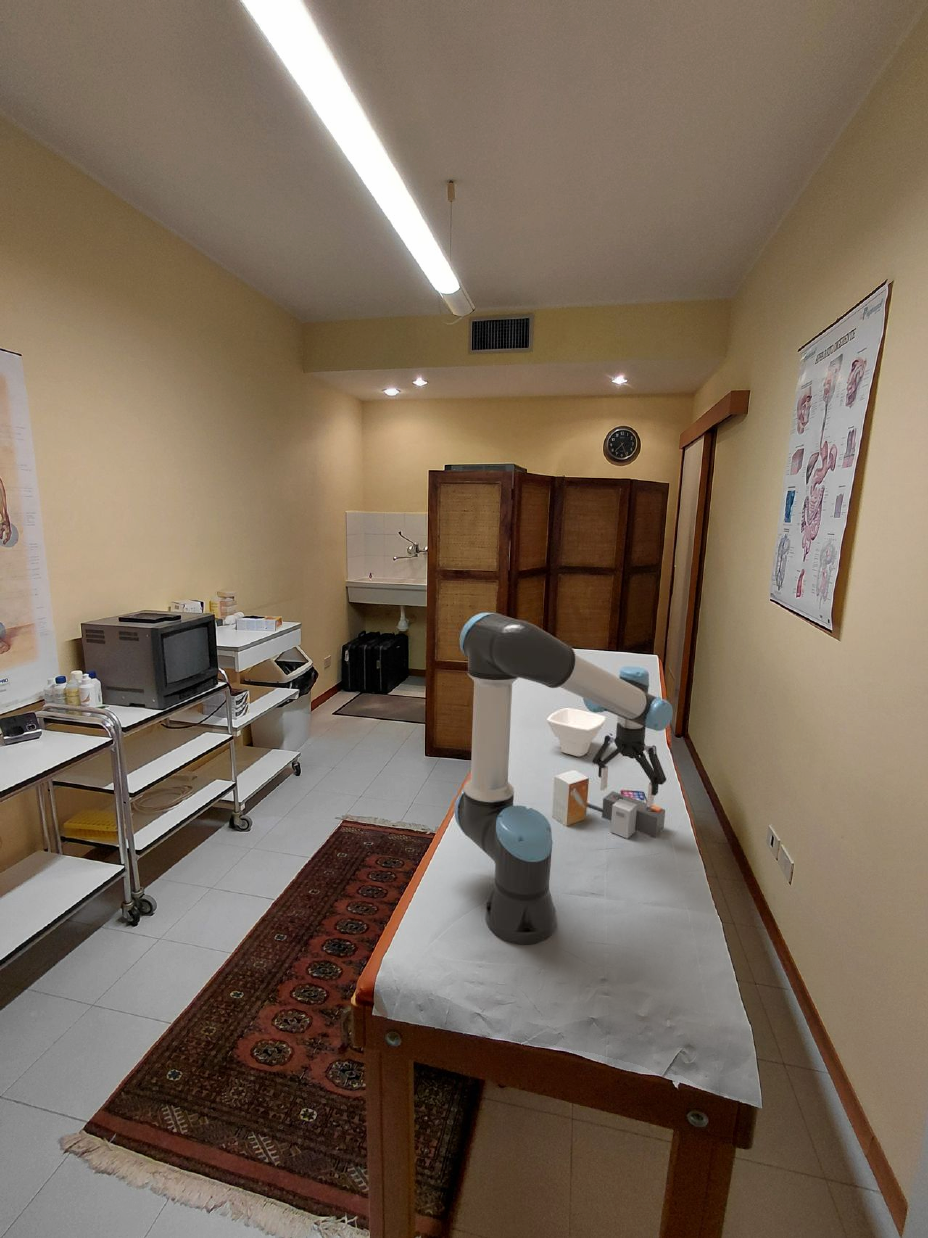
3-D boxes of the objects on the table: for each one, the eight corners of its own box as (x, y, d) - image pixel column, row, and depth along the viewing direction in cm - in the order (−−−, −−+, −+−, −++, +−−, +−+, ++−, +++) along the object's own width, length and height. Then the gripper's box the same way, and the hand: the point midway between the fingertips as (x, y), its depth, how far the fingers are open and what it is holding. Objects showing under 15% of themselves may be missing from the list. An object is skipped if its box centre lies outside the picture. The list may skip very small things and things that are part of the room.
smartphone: (627, 813, 161) (620, 789, 176) (627, 816, 162) (620, 792, 176) (653, 815, 160) (644, 791, 175) (653, 818, 161) (643, 793, 175)
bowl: (562, 739, 218) (564, 706, 216) (608, 751, 207) (611, 716, 205) (540, 754, 203) (542, 718, 201) (589, 768, 192) (591, 731, 190)
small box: (566, 827, 154) (569, 784, 152) (551, 817, 159) (553, 775, 157) (586, 819, 158) (589, 777, 156) (571, 809, 164) (573, 769, 161)
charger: (627, 838, 148) (629, 811, 147) (610, 831, 151) (612, 805, 150) (640, 826, 155) (642, 800, 153) (623, 819, 158) (625, 794, 157)
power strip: (655, 838, 149) (657, 816, 148) (577, 807, 165) (579, 787, 164) (663, 829, 154) (665, 807, 153) (587, 800, 169) (588, 780, 168)
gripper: (682, 731, 141) (676, 806, 145) (595, 709, 157) (591, 777, 161) (672, 740, 136) (666, 818, 139) (583, 716, 152) (579, 787, 155)
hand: (626, 796), depth 150 cm, fingers open, 13 cm apart
